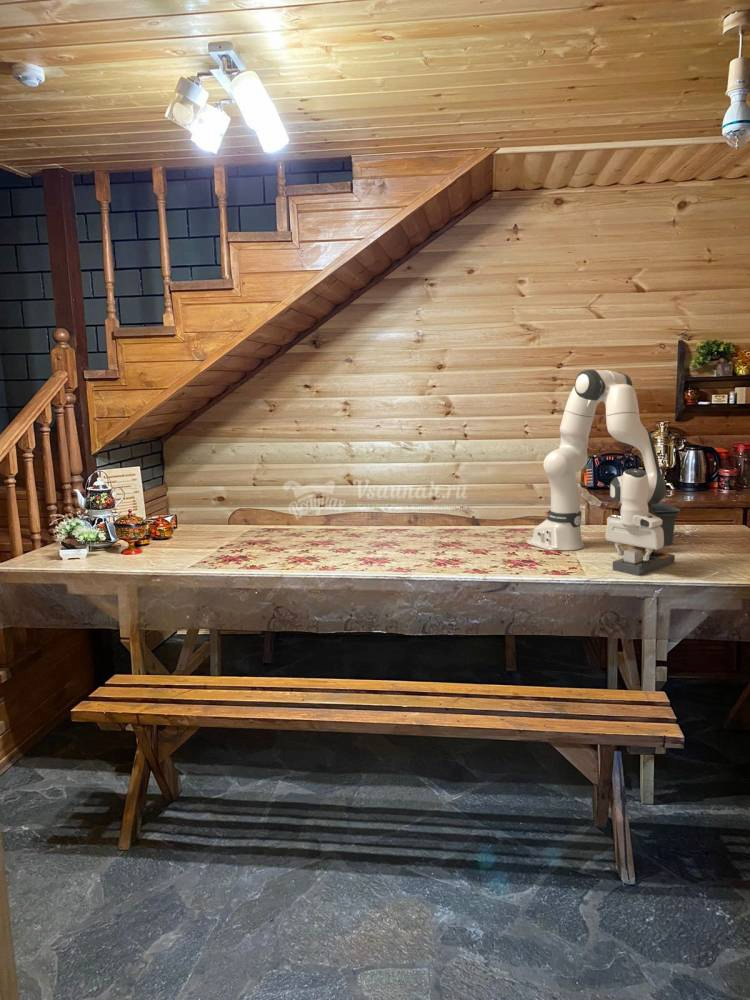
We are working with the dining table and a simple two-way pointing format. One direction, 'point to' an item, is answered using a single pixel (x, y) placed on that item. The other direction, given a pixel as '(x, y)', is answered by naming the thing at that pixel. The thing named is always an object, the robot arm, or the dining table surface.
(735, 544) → the dining table surface
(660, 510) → the storage bin
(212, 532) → the dining table surface
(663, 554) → the grey tray
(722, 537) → the dining table surface
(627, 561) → the block
